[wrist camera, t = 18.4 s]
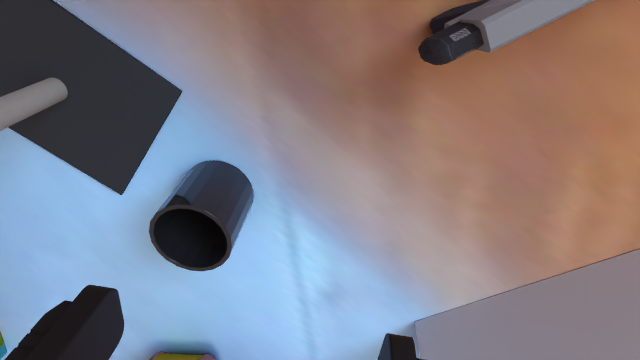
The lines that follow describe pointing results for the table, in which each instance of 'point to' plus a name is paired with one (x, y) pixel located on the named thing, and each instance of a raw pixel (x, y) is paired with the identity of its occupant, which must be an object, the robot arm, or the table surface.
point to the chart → (2, 347)
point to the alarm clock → (181, 357)
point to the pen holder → (202, 216)
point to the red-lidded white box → (546, 319)
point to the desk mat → (82, 91)
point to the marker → (30, 101)
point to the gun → (489, 26)
